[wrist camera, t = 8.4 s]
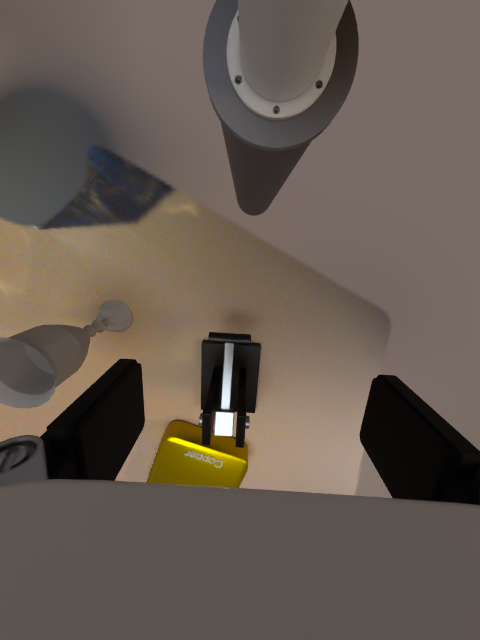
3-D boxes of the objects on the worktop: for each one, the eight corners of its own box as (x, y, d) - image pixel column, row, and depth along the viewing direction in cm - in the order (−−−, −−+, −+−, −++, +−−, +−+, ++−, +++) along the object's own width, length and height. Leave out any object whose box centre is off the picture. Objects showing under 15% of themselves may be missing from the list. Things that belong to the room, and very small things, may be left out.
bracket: (203, 339, 40) (184, 383, 28) (260, 343, 40) (266, 388, 28) (202, 405, 43) (184, 469, 31) (254, 408, 43) (258, 474, 31)
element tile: (251, 442, 45) (251, 465, 41) (223, 500, 50) (220, 527, 45) (171, 416, 44) (162, 436, 40) (148, 478, 48) (138, 502, 44)
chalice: (141, 299, 38) (54, 346, 21) (137, 341, 40) (56, 414, 23) (92, 290, 38) (-36, 329, 21) (91, 332, 40) (-26, 400, 23)
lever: (210, 332, 33) (208, 331, 31) (250, 334, 33) (251, 334, 31) (203, 427, 32) (201, 434, 30) (244, 430, 32) (245, 437, 30)
